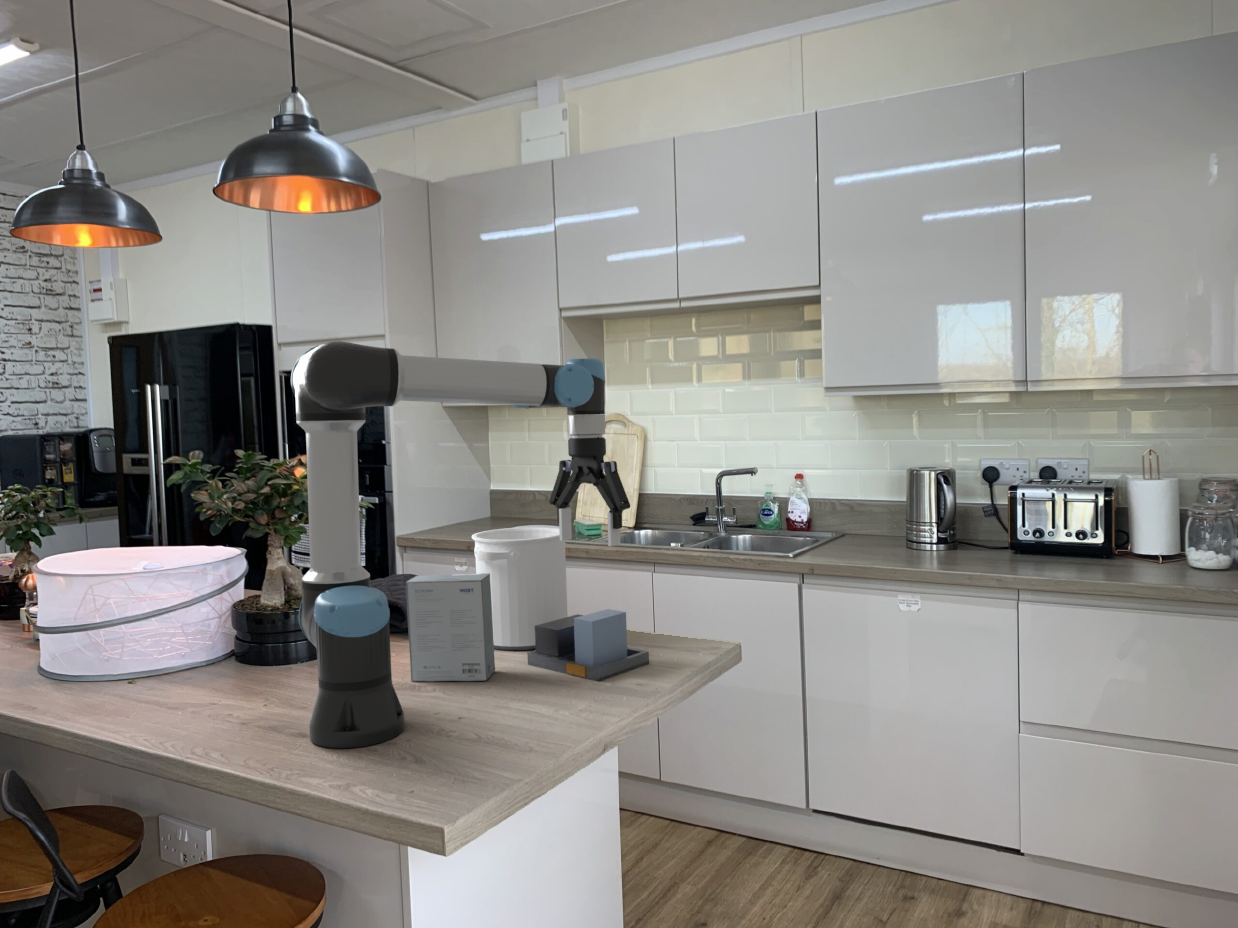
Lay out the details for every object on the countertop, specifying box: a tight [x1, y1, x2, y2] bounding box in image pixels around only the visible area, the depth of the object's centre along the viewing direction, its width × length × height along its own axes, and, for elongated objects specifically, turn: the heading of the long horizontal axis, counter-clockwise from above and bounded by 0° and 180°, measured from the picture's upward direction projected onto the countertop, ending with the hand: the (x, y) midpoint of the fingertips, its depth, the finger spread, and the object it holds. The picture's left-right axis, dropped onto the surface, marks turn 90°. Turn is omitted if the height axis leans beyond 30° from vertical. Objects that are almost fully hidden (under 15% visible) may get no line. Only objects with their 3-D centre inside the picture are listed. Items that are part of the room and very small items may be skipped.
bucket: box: [471, 526, 569, 651], centre depth 212 cm, size 26×22×24 cm
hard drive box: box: [405, 573, 496, 682], centre depth 185 cm, size 16×8×20 cm, turn 84°
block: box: [574, 608, 628, 666], centre depth 188 cm, size 10×5×10 cm, turn 138°
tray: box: [527, 613, 650, 682], centre depth 191 cm, size 15×20×8 cm
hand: (589, 542), depth 187 cm, fingers open, 13 cm apart
